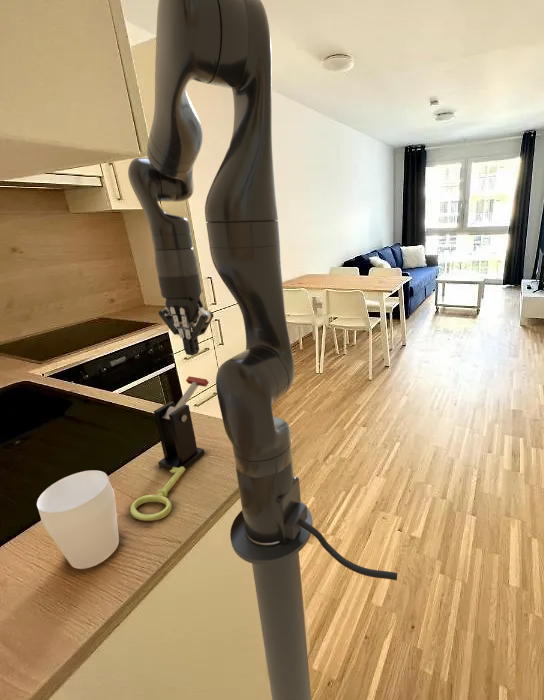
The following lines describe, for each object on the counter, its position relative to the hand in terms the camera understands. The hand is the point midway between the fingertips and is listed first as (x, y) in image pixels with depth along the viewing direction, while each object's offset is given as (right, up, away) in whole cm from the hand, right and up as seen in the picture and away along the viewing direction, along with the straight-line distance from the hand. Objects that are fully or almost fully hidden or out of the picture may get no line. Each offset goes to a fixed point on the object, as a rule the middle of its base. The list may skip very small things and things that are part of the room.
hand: (192, 353), depth 77 cm
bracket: (-2, -23, +1) cm, 23 cm away
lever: (-1, -11, 0) cm, 11 cm away
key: (-2, -27, -10) cm, 29 cm away
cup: (-7, -31, -20) cm, 38 cm away
